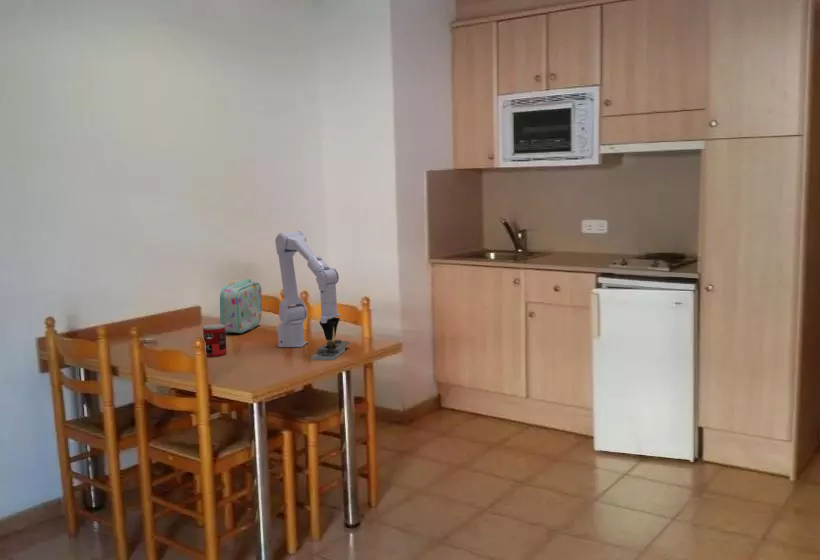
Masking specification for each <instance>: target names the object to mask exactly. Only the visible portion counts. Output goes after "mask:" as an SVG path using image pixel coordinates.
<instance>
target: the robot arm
mask: <svg viewBox="0 0 820 560" xmlns="http://www.w3.org/2000/svg"><path fill="white" fill-rule="evenodd" d="M274 241H275V249H276V254H277V255H278V256H277V257H278V260H279V261H278V262H279V268H280V269H279V270H280V276H281V282H282V290H283V296H284V299H283V300H282V301H281V302H280V303H279V305H278V307H279V308H278V309H279V310H278V317H279V320H280V323H279V324H278V326H277V339H278V340H277V342H278V346H277V347H278V348H302V347H304V346H305V345H306V343H307V344H308V343H309V342H308V341H305V334H304V323H305V320H306V319H307V318H308V317H307V316H308V309H307V307H306V304H305V301H304V300H303V299H302V298H300V297H299V294H298V293H299V291H298V287H297V285H298V284H297V278H296V271H295V266H294V265H295V264H294V255H295V254H296V253H299V254H300V255H301V256H302V257H303V259H305V260H306V262H307V267H308V269H310V271H311V272H312V273H313V274H314V275H315V280H316V283H317V285H318V290H319V293H320V309H321V310H320V311H321V314H320V320H319V325H320V326H321V329H322V330H323V334H324V337H325V340H326V341H327V340H332V338H333V328H334V332H335V337H336V335H337V334H336V333H337V330H338V329H337V328H338V325H339V322H340V320H341V319H340V316H341V313H339V311H338V305H337V301H338V300H337V288H336V287H337V284H338V283H339V277H340V276H339V273H338V271H337V269H336V268H334V267H333V268H332V267H330V266H328V264H327V263H326V261H324V259H323V258H322V257H321V256H320V255H315V254H314V252H313V250H312V249H311V248H310V246H309V245H308V243H307V237H306V236H305V235H304V233H303V232H302V231H301V230H300V231H299V230H298V231H290V232H279V233H278V234H277V235H276V237H275V240H274Z"/></svg>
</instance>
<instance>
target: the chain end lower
mask: <svg viewBox="0 0 820 560" xmlns="http://www.w3.org/2000/svg"><path fill="white" fill-rule="evenodd" d="M345 352H346V347H345V348H344V349H343V350H341V351H340V352H339V353H329V352H316V353H315V354H314V355H312V356H311V359H312V360H313V361H314V360H315V361H316V360H317V361H334V360H336V359H337V358H338V357H340V356H341V355H342V354H344V353H345Z"/></svg>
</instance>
